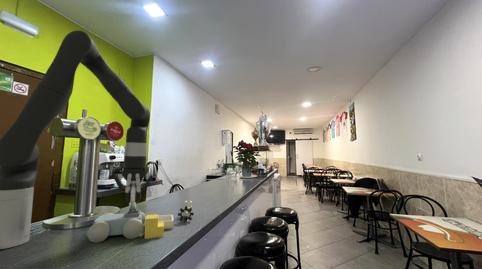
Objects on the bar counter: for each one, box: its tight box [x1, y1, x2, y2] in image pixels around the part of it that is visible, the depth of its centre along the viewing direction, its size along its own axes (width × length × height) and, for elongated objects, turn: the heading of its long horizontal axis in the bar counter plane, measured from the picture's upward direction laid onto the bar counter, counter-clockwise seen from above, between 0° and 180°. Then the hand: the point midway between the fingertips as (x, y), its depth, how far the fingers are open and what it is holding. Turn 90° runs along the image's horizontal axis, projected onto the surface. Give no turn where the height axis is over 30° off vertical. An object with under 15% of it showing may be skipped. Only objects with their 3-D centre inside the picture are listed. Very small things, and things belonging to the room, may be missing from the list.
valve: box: [177, 200, 195, 223], centre depth 97 cm, size 7×7×12 cm
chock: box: [144, 214, 165, 240], centre depth 76 cm, size 6×5×6 cm
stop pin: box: [128, 181, 137, 212], centre depth 79 cm, size 3×3×11 cm
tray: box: [158, 214, 175, 231], centre depth 85 cm, size 9×9×3 cm
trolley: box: [86, 209, 146, 244], centre depth 77 cm, size 16×13×7 cm
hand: (132, 202), depth 79 cm, fingers closed on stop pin, 2 cm apart
